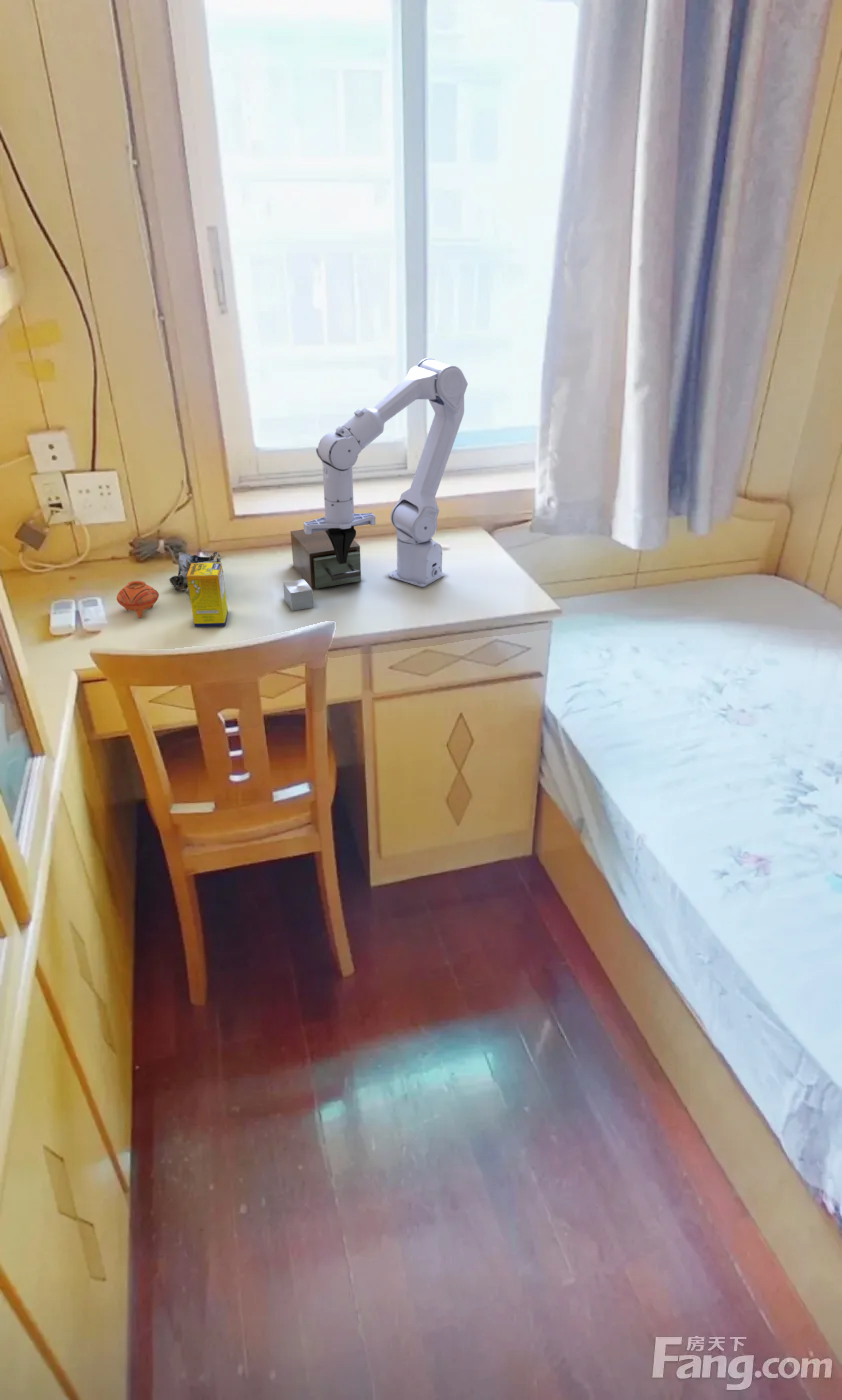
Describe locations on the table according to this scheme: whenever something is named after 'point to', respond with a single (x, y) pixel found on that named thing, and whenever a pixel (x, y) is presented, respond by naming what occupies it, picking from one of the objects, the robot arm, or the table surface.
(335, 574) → the drawer
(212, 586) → the supplement box
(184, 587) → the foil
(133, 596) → the pot
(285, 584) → the shiny metal block
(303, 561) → the cabinet
